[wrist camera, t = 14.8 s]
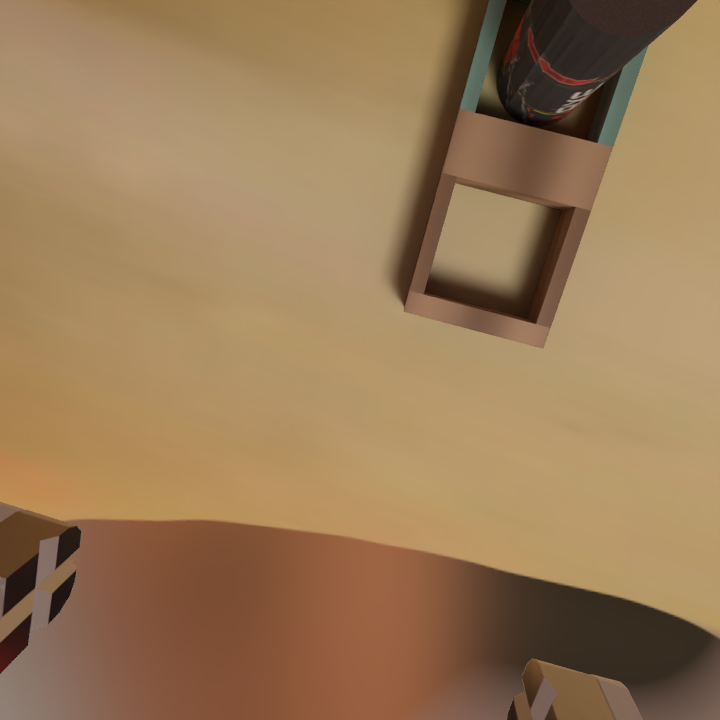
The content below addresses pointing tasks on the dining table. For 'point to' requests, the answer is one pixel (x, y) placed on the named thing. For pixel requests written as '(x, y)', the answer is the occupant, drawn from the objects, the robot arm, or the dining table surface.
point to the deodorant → (575, 51)
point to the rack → (520, 189)
